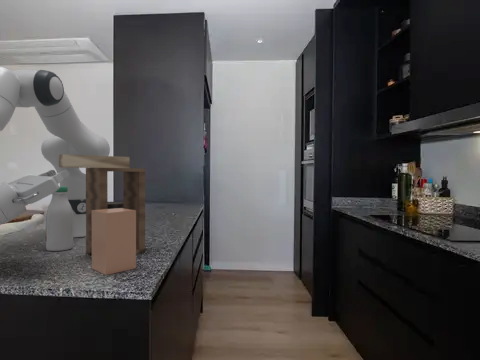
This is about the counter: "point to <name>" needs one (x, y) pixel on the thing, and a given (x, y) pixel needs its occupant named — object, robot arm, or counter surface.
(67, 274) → the counter surface
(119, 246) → the pedestal
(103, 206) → the wooden open box
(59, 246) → the milk bottle
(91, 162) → the bar
